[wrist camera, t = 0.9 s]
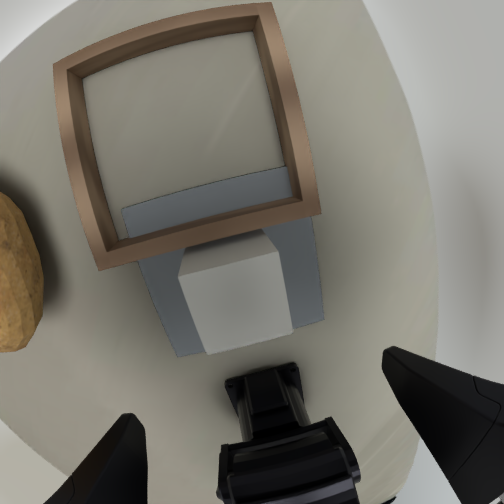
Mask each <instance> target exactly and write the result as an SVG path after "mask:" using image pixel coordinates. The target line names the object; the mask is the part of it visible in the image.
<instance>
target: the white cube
mask: <svg viewBox="0 0 504 504" xmlns="http://www.w3.org/2000/svg"><path fill="white" fill-rule="evenodd" d="M178 279H179V282H180V285H181V288H182V290H183V293H184V296H185V299H186V302H187V304H188V307H189V310H190V313H191V315H192V318H193V321H194V323H195V326H196V328H197V331H198V334H199V336H200V339H201V341H202V344H203V346H204V349H205V351H206V354H207V355H210V354H215V353H219V352H224V351H228V350H232V349H236V348H240V347H244V346H248V345H252V344H256V343H260V342H264V341H267V340H271V339H275V338H278V337H282V336H285V335H289V334H292V333H293V328H292V322H291V316H290V311H289V305H288V300H287V294H286V289H285V283H284V278H283V273H282V268H281V262H280V257H279V252H278V250H277V249H276V247H275V246H274V245H273V243H272V242H271V241H270V239H269V238H268V237H267V235H266V234H265V233H264V231H263V230H262V229H257V230H252V231H248V232H244V233H240V234H237V235H233V236H229V237H225V238H221V239H217V240H213V241H209V242H205V243H201V244H198V245H194V246H190V247H186V248H185V251H184V254H183V258H182V262H181V266H180V270H179V274H178Z"/></svg>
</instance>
